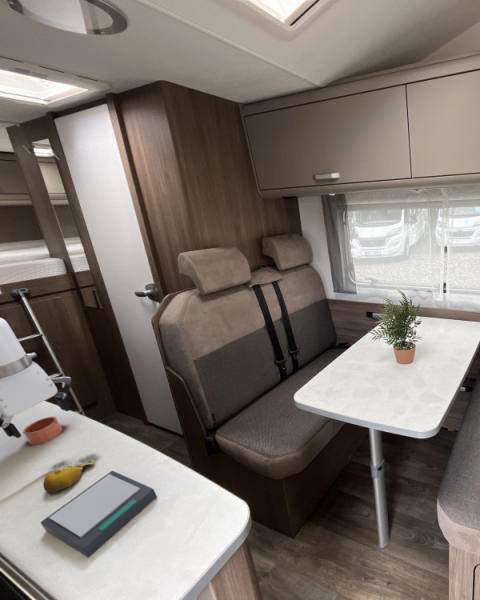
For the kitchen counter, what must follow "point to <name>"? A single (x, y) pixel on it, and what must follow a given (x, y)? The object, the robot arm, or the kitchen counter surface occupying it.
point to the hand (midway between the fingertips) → (42, 422)
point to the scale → (99, 512)
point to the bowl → (42, 430)
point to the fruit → (63, 477)
